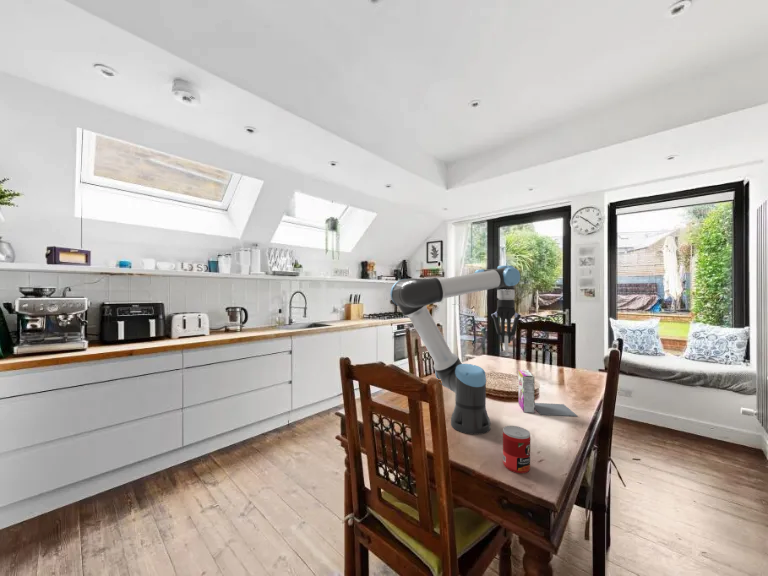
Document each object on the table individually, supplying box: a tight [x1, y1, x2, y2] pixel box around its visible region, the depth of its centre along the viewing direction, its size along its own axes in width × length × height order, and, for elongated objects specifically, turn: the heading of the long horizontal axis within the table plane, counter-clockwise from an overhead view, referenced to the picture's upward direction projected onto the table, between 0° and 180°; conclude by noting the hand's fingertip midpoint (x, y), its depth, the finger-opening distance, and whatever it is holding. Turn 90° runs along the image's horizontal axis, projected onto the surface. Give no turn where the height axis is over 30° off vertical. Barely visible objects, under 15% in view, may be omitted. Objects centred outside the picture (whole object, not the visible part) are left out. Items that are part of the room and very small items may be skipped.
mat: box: [535, 402, 579, 418], centre depth 146 cm, size 15×14×1 cm
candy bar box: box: [517, 369, 536, 414], centre depth 147 cm, size 11×5×16 cm, turn 168°
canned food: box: [502, 425, 531, 474], centre depth 99 cm, size 8×8×11 cm
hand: (505, 350), depth 148 cm, fingers closed
